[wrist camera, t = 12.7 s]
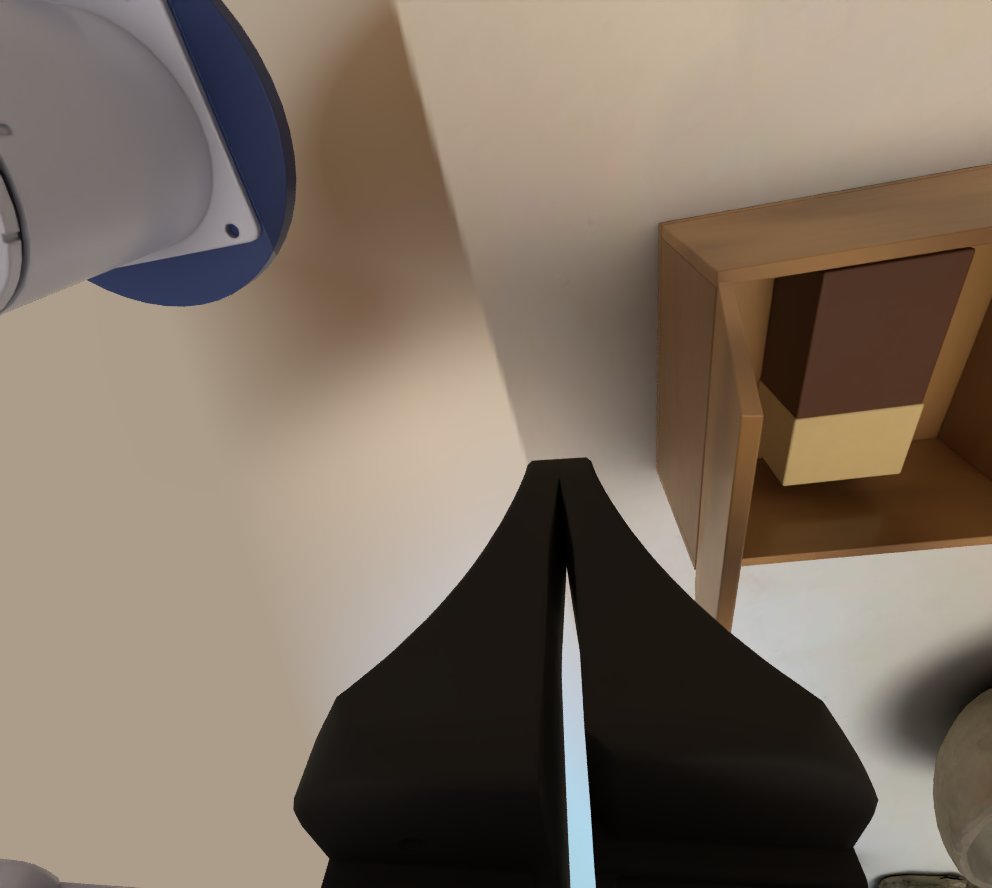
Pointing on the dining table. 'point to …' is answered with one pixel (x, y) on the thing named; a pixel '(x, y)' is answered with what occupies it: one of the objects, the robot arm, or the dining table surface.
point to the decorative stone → (925, 882)
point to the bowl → (967, 791)
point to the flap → (727, 462)
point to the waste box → (689, 348)
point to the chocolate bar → (854, 364)
